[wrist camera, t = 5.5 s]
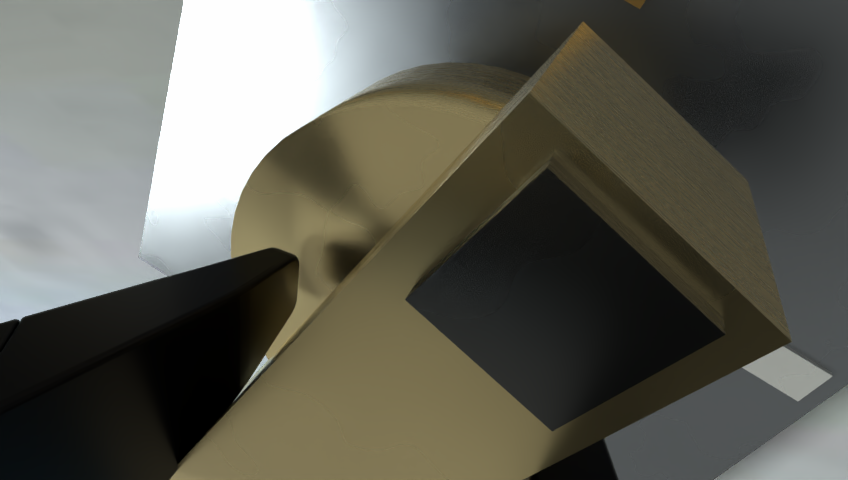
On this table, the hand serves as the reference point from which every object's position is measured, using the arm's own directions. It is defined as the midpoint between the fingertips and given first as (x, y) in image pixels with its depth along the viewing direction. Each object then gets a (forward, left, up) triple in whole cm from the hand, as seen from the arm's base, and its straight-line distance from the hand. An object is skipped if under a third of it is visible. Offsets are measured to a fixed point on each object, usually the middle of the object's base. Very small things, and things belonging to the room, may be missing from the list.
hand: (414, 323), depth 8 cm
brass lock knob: (0, 0, -3) cm, 3 cm away
